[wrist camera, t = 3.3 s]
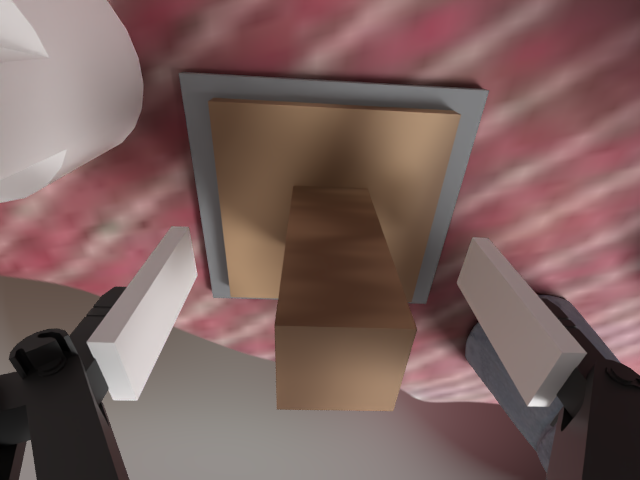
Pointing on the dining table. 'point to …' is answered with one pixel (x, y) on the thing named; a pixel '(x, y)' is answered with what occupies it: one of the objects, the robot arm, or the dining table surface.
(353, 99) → the rubber mat
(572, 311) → the moka pot
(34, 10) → the cylinder with rectangular tab
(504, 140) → the dining table surface
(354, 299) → the walnut lid
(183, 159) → the dining table surface
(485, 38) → the dining table surface
